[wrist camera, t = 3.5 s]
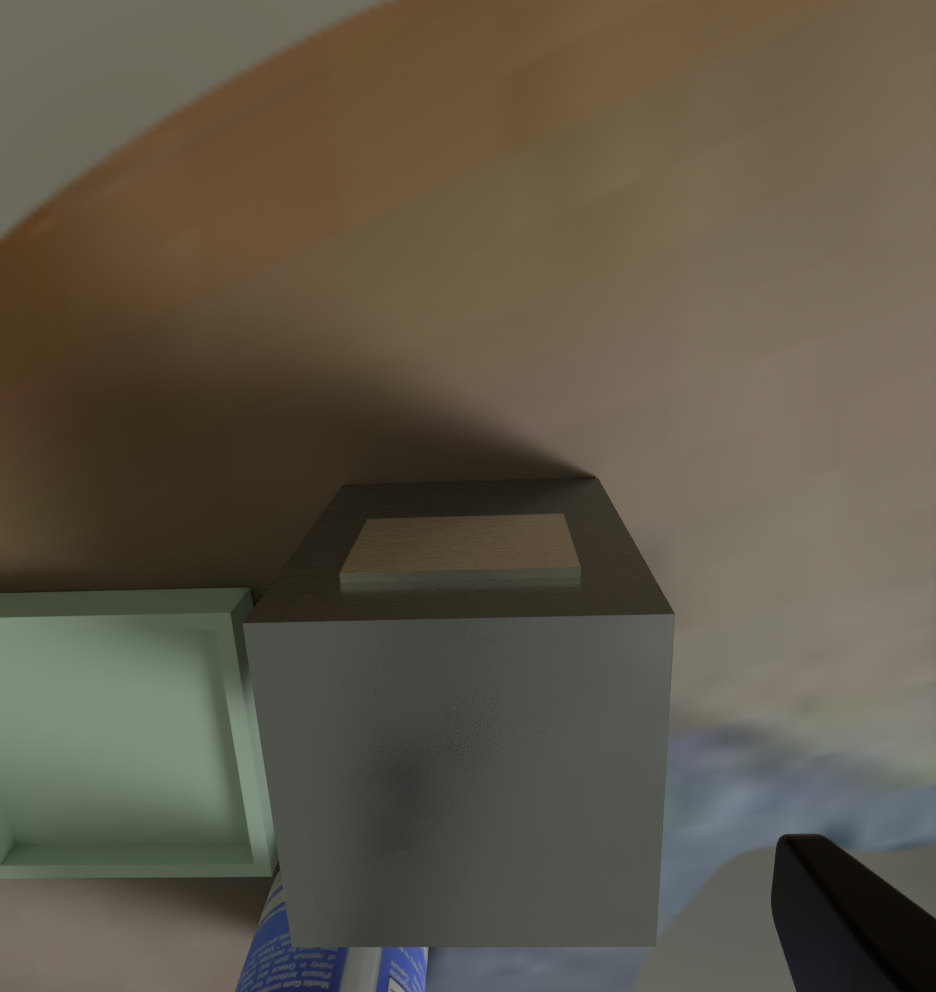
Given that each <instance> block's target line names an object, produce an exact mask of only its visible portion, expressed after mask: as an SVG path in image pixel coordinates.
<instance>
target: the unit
mask: <svg viewBox="0 0 936 992" xmlns="http://www.w3.org/2000/svg"><path fill="white" fill-rule="evenodd" d="M674 619H675V613H674V612H673V610H672V608H671V606H670V605H669V603H668V601H667V599H666V598H665V596H664V594H663V592H662V590H661V589H660V587H659V585H658V583H657V582H656V580H655V578H654V576H653V574H652V573H651V571H650V569H649V567H648V566H647V564H646V562H645V560H644V559H643V557H642V555H641V553H640V551H639V550H638V548H637V546H636V544H635V543H634V541H633V539H632V537H631V536H630V534H629V532H628V530H627V528H626V527H625V525H624V523H623V521H622V520H621V518H620V516H619V514H618V513H617V511H616V509H615V507H614V505H613V504H612V502H611V500H610V498H609V497H608V495H607V493H606V491H605V490H604V488H603V486H602V484H601V482H600V481H599V479H598V478H576V479H542V480H508V481H474V482H440V483H406V484H372V485H343V486H342V487H341V489H340V490H339V491H338V493H337V494H336V495H335V497H334V498H333V500H332V501H331V502H330V504H329V505H328V506H327V508H326V509H325V511H324V512H323V513H322V515H321V516H320V517H319V519H318V520H317V522H316V523H315V524H314V526H313V527H312V528H311V530H310V531H309V533H308V534H307V535H306V537H305V538H304V539H303V541H302V542H301V544H300V545H299V546H298V548H297V549H296V550H295V552H294V553H293V555H292V556H291V557H290V559H289V560H288V561H287V563H286V564H285V566H284V567H283V568H282V570H281V571H280V572H279V574H278V575H277V577H276V578H275V579H274V581H273V582H272V583H271V585H270V586H269V588H268V589H267V590H266V592H265V593H264V594H263V596H262V597H261V599H260V600H259V601H258V603H257V604H256V605H255V607H254V608H253V610H252V611H251V612H250V614H249V615H248V616H247V618H246V619H245V621H244V622H243V630H244V637H245V643H246V650H247V656H248V663H249V669H250V676H251V682H252V689H253V695H254V702H255V708H256V715H257V722H258V728H259V735H260V741H261V748H262V754H263V761H264V767H265V774H266V780H267V787H268V793H269V800H270V807H271V813H272V820H273V826H274V833H275V839H276V846H277V852H278V859H279V865H280V872H281V879H282V885H283V892H284V898H285V905H286V911H287V918H288V924H289V931H290V937H291V944H292V947H630V946H656V937H657V920H658V902H659V884H660V867H661V849H662V831H663V814H664V796H665V778H666V761H667V743H668V725H669V708H670V690H671V672H672V655H673V637H674Z"/></svg>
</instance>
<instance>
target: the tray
mask: <svg viewBox="0 0 936 992" xmlns="http://www.w3.org/2000/svg"><path fill="white" fill-rule="evenodd" d="M252 610H253V602H252V595H251V589H250V587H239V588H197V589H155V590H112V591H70V592H28V593H0V879H8V878H162V877H272V876H273V873H274V870H275V867H276V865H277V862H278V852H277V846H276V839H275V833H274V826H273V820H272V813H271V807H270V800H269V793H268V787H267V780H266V774H265V767H264V761H263V754H262V748H261V741H260V735H259V728H258V722H257V715H256V708H255V702H254V695H253V689H252V682H251V676H250V669H249V663H248V656H247V650H246V643H245V637H244V630H243V622H244V621H245V619H246V618H247V616H248V615H249V614H250V612H251V611H252Z"/></svg>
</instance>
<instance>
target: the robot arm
mask: <svg viewBox="0 0 936 992" xmlns="http://www.w3.org/2000/svg"><path fill="white" fill-rule="evenodd" d="M771 908H772V915H773V919H774V923H775V927H776V930H777V933H778V936H779V939H780V942H781V945H782V948H783V951H784V955H785V958H786V961H787V964H788V967H789V970H790V973H791V976H792V979H793V982H794V985H795V988H796V991H797V992H936V918H934V917H933V916H932V915H930V914H929V913H928V912H926V911H925V910H924V909H922V908H921V907H919V906H918V905H917V904H916V903H914V902H913V901H912V900H910V899H909V898H908V897H906V896H905V895H903V894H902V893H901V892H899V891H898V890H897V889H895V888H894V887H893V886H891V885H890V884H889V883H887V882H886V881H884V880H883V879H882V878H880V877H879V876H878V875H877V874H875V873H874V872H873V871H871V870H870V869H869V868H867V867H866V866H865V865H863V864H862V863H861V862H859V861H858V860H857V859H855V858H854V857H853V856H851V855H850V854H848V853H847V852H846V851H844V850H843V849H842V848H840V847H839V846H838V845H836V844H835V843H834V842H832V841H831V840H830V839H828V838H826V837H825V836H823V835H820V834H785V835H783V836H781V837H780V838H779V840H778V842H777V846H776V854H775V865H774V873H773V883H772V892H771Z"/></svg>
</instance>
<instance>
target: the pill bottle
mask: <svg viewBox="0 0 936 992" xmlns="http://www.w3.org/2000/svg"><path fill="white" fill-rule="evenodd" d="M427 957H428V947H292V944H291V937H290V931H289V924H288V918H287V911H286V905H285V898H284V892H283V885H282V879H281V872H280V871H279V872H278V874H277V876H276V878H275V880H274V882H273V884H272V887H271V890H270V892H269V895H268V898H267V900H266V903H265V906H264V909H263V912H262V915H261V918H260V920H259V923H258V926H257V929H256V932H255V935H254V938H253V940H252V943H251V947H250V949H249V952H248V955H247V958H246V961H245V964H244V967H243V970H242V972H241V975H240V978H239V981H238V984H237V987H236V990H235V992H425V981H426V969H427Z"/></svg>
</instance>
